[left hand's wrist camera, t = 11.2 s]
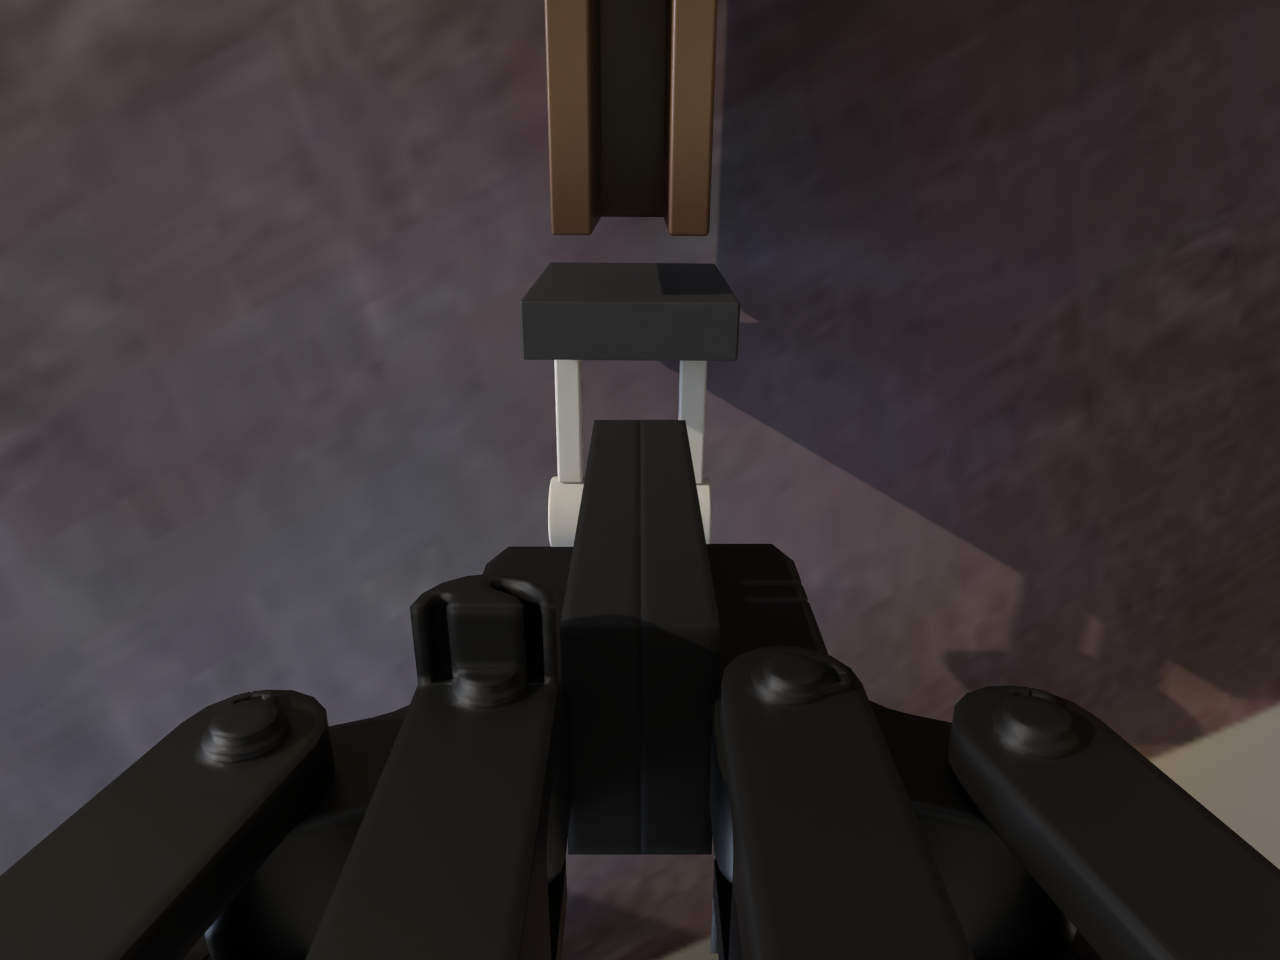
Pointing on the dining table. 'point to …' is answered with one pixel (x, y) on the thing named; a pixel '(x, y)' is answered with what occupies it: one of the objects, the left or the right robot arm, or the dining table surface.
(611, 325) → the drawer
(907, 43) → the dining table surface
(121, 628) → the dining table surface
